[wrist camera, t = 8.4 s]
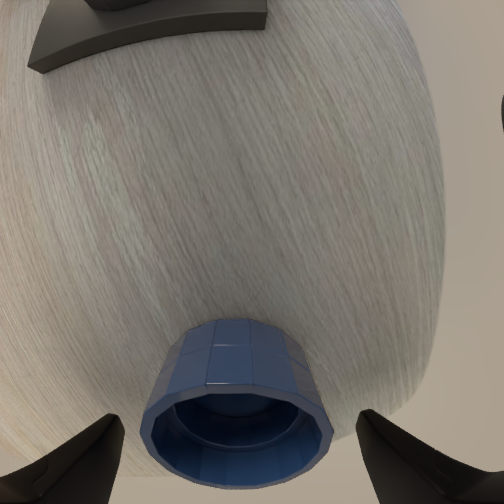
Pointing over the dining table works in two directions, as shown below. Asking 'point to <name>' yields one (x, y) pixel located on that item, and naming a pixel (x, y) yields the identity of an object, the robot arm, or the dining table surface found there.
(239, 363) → the small dish
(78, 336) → the dining table surface
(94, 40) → the pad
